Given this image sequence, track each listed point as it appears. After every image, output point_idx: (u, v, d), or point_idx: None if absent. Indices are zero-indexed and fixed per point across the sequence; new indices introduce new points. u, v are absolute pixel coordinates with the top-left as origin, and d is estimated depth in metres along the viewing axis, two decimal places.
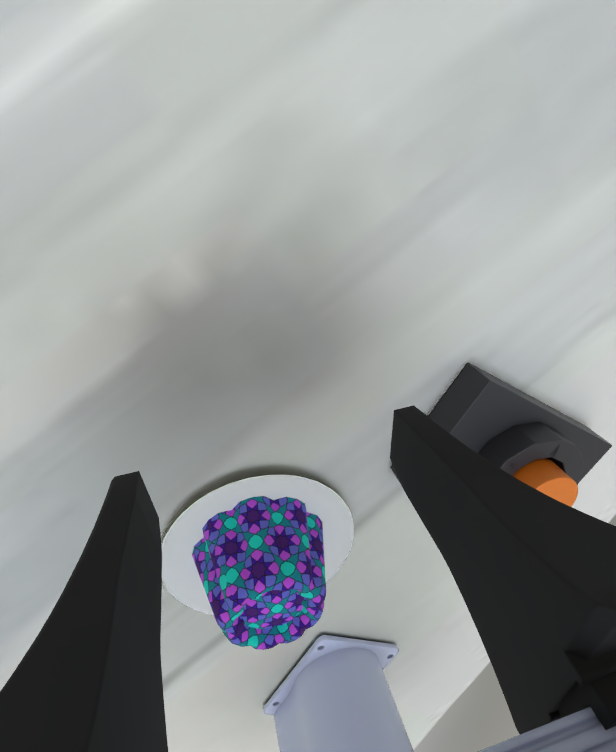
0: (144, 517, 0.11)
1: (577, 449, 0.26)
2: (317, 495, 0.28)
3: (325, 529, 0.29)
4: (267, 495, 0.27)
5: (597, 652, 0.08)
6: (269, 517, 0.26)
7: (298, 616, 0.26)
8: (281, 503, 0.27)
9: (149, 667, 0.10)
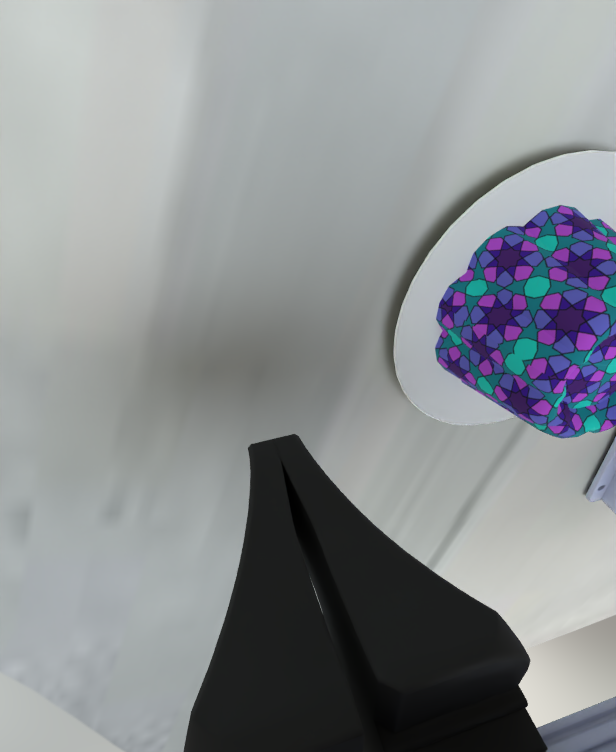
0: None
1: None
2: (594, 179, 0.16)
3: None
4: (511, 221, 0.16)
5: (402, 725, 0.07)
6: (535, 247, 0.16)
7: None
8: (540, 222, 0.16)
9: None
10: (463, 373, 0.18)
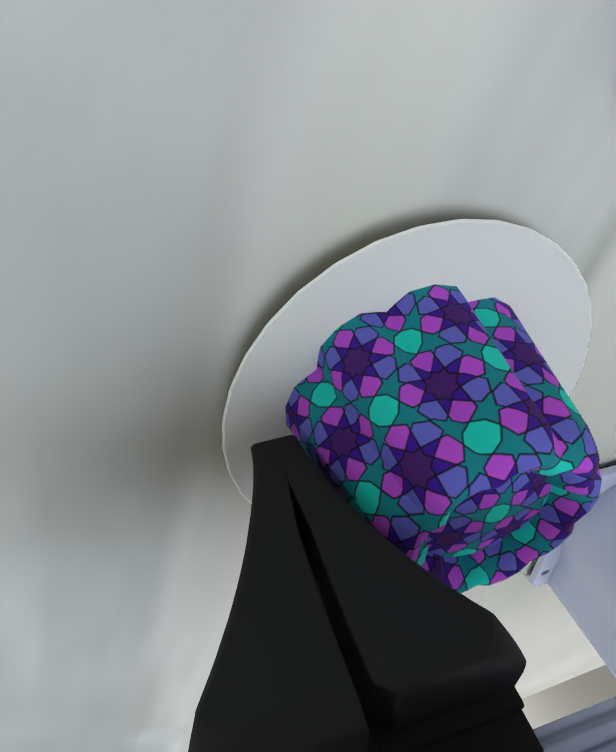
0: None
1: None
2: (475, 253, 0.12)
3: (523, 316, 0.14)
4: (367, 308, 0.12)
5: (398, 726, 0.07)
6: (391, 348, 0.11)
7: (549, 504, 0.12)
8: (405, 309, 0.12)
9: None
10: None
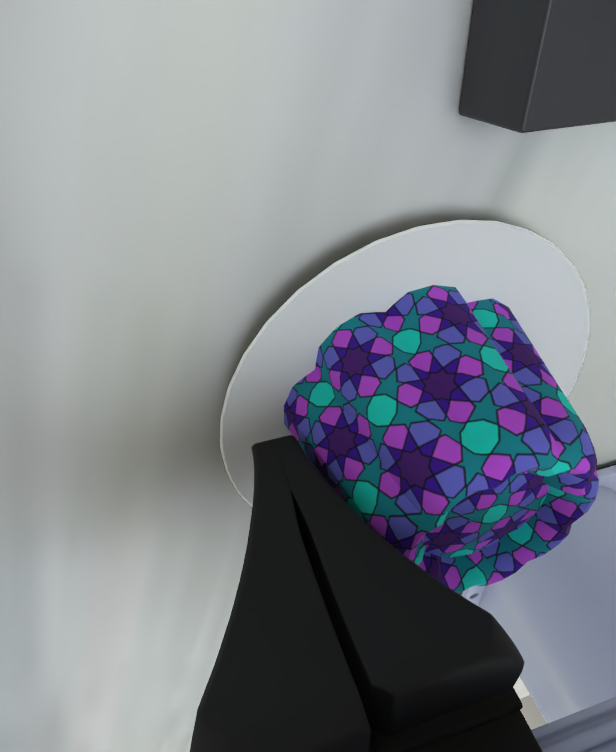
0: None
1: None
2: (474, 254, 0.12)
3: (521, 317, 0.14)
4: (366, 307, 0.12)
5: (396, 727, 0.07)
6: (390, 348, 0.11)
7: (546, 505, 0.12)
8: (403, 309, 0.12)
9: None
10: None
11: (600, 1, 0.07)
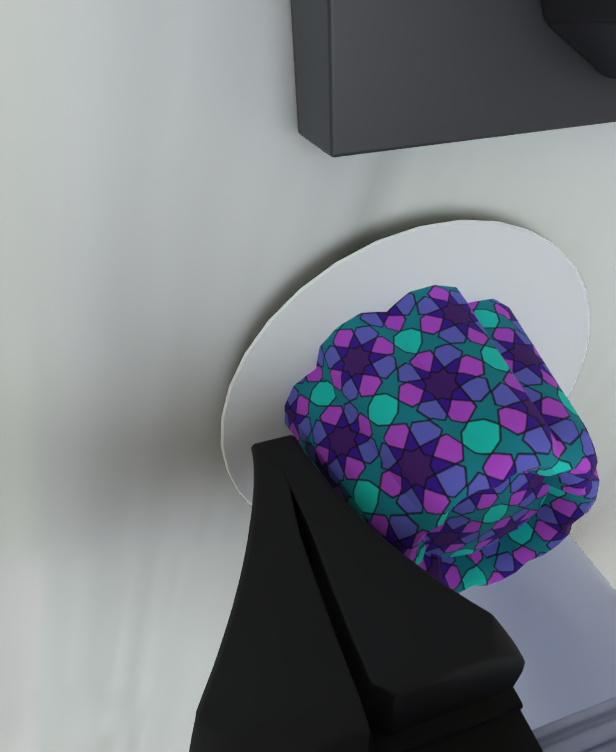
0: None
1: None
2: (476, 254, 0.12)
3: (521, 318, 0.14)
4: (367, 307, 0.12)
5: (397, 727, 0.07)
6: (391, 347, 0.11)
7: (546, 505, 0.12)
8: (405, 309, 0.12)
9: None
10: None
11: (391, 17, 0.07)
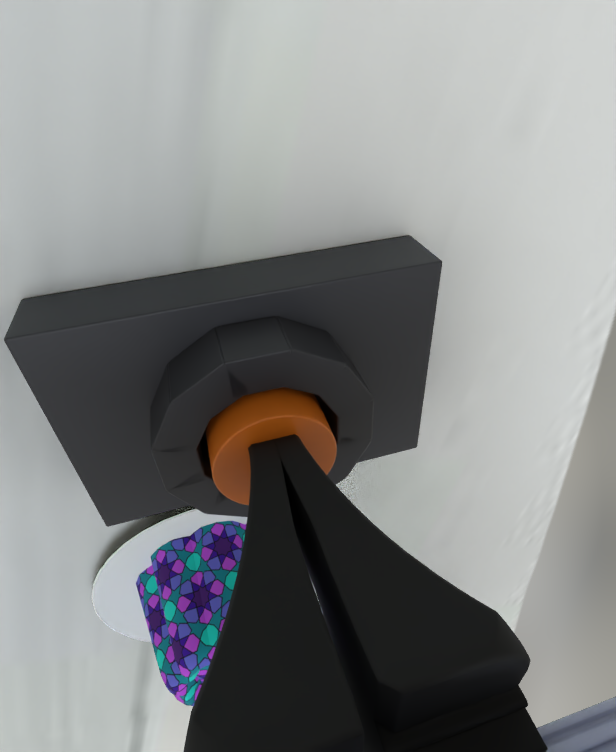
0: None
1: (287, 354, 0.12)
2: None
3: None
4: (175, 537, 0.21)
5: (402, 725, 0.07)
6: (182, 567, 0.20)
7: None
8: (197, 538, 0.21)
9: None
10: None
11: (119, 488, 0.15)
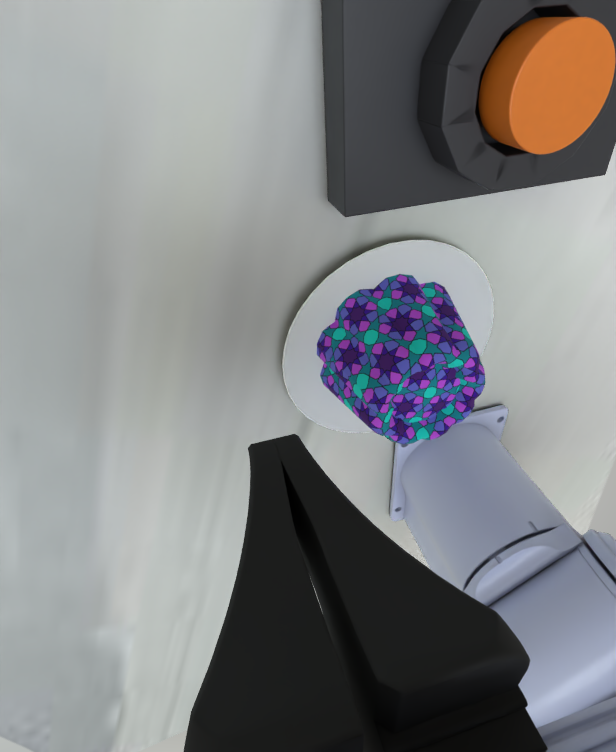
0: None
1: None
2: (421, 257, 0.22)
3: (452, 293, 0.24)
4: (363, 286, 0.22)
5: (402, 725, 0.07)
6: (375, 307, 0.22)
7: (459, 391, 0.22)
8: (383, 287, 0.22)
9: None
10: (337, 395, 0.24)
11: (369, 164, 0.17)
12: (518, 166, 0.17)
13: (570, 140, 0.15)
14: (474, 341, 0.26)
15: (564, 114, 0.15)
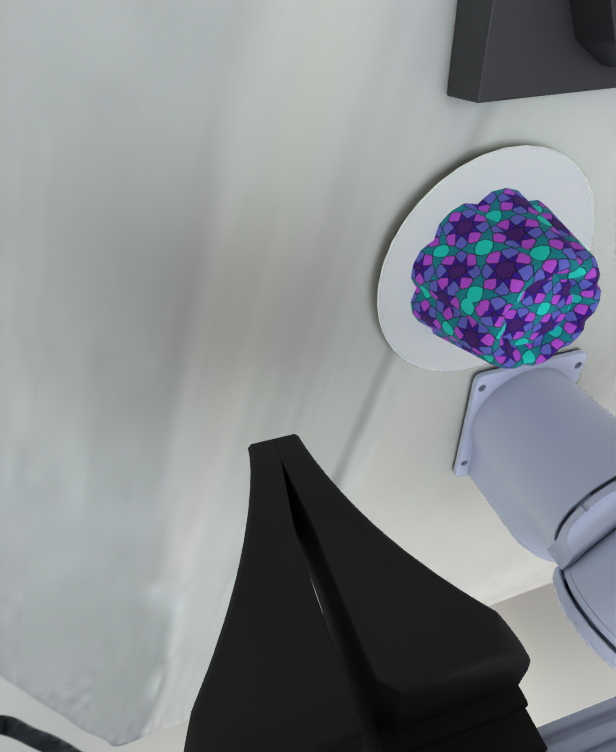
0: None
1: None
2: (530, 168, 0.21)
3: (554, 214, 0.23)
4: (468, 200, 0.21)
5: (402, 725, 0.07)
6: (484, 219, 0.20)
7: (571, 310, 0.21)
8: (489, 201, 0.21)
9: None
10: (432, 320, 0.23)
11: (511, 39, 0.16)
12: None
13: None
14: None
15: None
